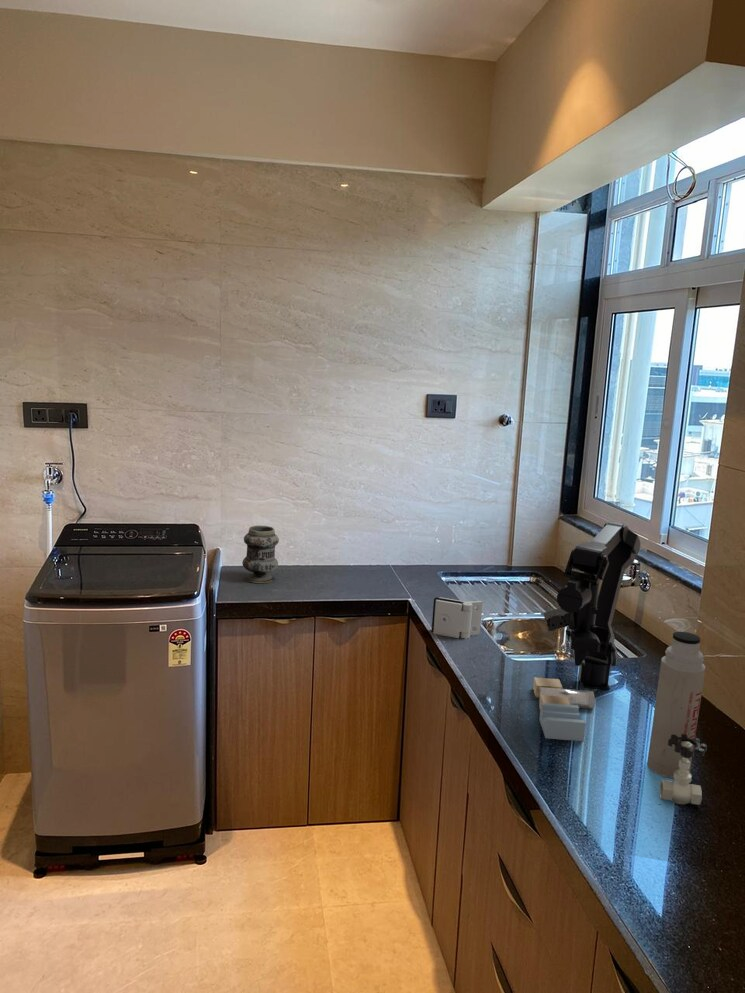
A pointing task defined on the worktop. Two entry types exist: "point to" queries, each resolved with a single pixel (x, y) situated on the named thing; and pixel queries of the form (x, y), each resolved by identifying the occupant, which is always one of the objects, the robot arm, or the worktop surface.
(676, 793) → the valve
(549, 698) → the beam
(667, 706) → the thermos bottle
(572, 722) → the v block
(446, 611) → the hinge
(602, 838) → the worktop surface
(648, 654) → the worktop surface
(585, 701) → the light grey bar
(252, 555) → the apothecary jar
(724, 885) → the worktop surface
